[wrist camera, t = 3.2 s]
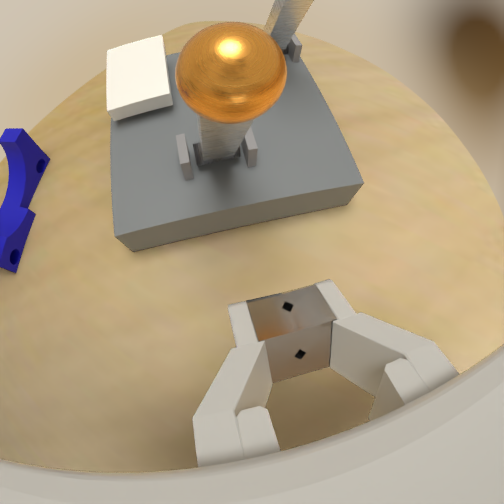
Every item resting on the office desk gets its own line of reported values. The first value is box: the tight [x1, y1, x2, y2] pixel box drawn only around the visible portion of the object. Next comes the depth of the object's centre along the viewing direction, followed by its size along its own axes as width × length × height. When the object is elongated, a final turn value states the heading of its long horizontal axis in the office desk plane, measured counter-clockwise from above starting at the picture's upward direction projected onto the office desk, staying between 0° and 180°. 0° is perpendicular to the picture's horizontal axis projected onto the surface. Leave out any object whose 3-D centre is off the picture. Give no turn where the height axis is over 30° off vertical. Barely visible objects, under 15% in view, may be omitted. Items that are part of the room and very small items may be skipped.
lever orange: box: [175, 22, 287, 166], centre depth 13 cm, size 3×3×15 cm
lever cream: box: [263, 0, 314, 55], centre depth 16 cm, size 3×3×15 cm
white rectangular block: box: [107, 35, 173, 121], centre depth 20 cm, size 5×7×2 cm
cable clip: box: [0, 129, 50, 273], centre depth 20 cm, size 12×4×6 cm, turn 167°
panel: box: [110, 34, 364, 252], centre depth 23 cm, size 18×18×6 cm
